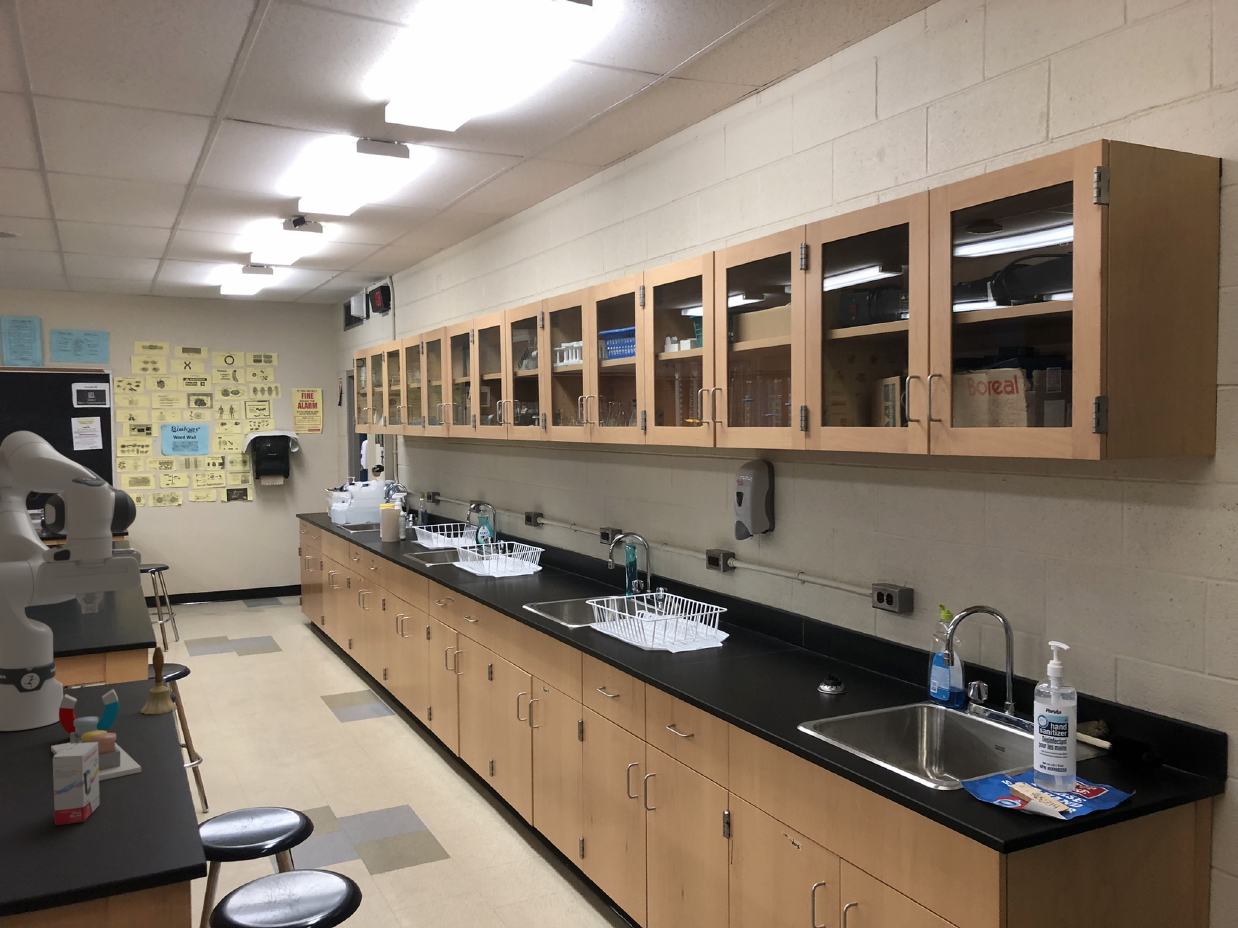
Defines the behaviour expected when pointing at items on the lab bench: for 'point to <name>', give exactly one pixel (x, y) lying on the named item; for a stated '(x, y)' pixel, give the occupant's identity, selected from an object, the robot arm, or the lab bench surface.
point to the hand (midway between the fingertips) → (89, 612)
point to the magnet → (103, 723)
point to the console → (107, 760)
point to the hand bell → (158, 689)
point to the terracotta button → (104, 742)
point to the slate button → (85, 725)
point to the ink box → (76, 782)
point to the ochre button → (89, 734)
